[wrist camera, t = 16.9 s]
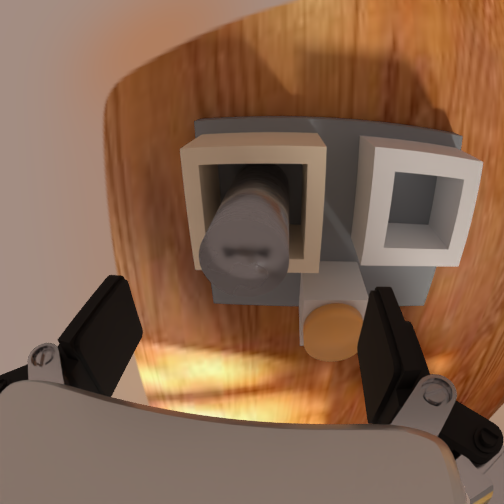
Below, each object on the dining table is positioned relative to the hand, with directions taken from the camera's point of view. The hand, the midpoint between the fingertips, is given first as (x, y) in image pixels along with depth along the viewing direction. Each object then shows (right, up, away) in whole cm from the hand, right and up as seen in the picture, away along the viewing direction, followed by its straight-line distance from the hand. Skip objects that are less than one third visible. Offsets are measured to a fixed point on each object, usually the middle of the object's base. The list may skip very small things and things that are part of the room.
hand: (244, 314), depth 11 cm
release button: (+7, -1, +14) cm, 15 cm away
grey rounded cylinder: (+1, +7, +11) cm, 13 cm away
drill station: (+7, +5, +13) cm, 16 cm away
